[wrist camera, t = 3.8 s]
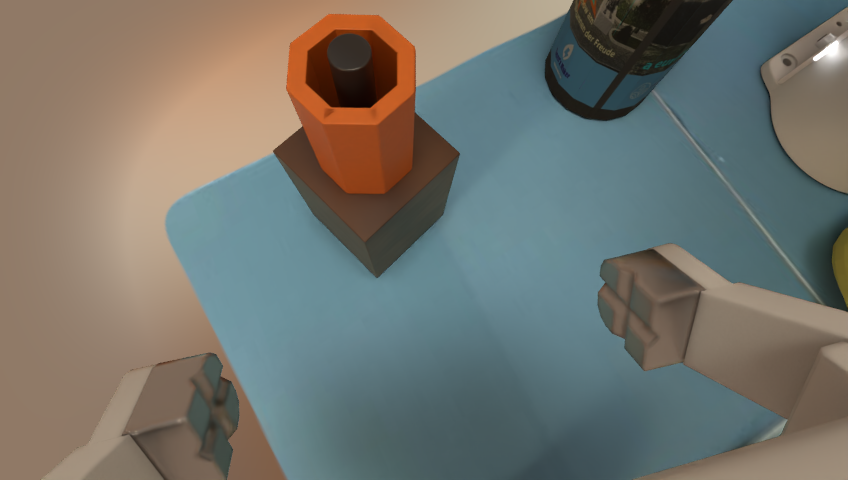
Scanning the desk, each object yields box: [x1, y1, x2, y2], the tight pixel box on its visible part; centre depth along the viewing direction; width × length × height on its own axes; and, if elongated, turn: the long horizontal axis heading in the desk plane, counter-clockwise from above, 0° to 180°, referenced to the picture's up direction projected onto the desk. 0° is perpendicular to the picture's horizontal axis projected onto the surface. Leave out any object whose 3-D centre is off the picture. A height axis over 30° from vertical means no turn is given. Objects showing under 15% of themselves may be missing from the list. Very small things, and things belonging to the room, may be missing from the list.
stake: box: [273, 33, 460, 278], centre depth 28 cm, size 8×8×21 cm
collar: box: [286, 14, 416, 194], centre depth 22 cm, size 5×5×8 cm
